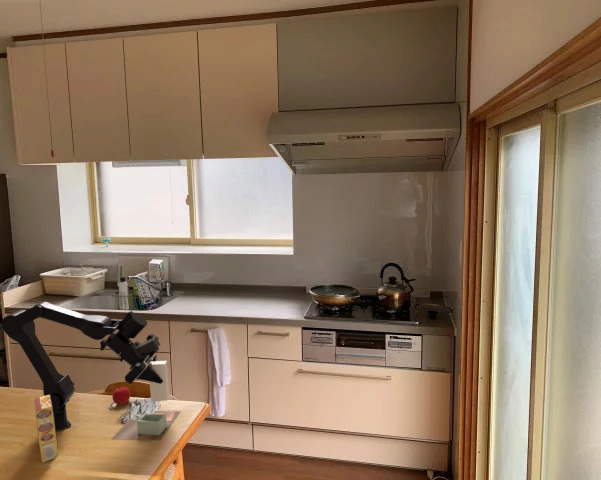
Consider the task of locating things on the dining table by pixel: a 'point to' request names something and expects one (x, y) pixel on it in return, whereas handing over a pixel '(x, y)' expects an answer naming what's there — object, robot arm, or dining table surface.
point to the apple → (120, 397)
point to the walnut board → (131, 433)
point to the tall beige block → (161, 390)
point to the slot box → (152, 424)
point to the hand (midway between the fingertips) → (163, 380)
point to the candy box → (46, 428)
